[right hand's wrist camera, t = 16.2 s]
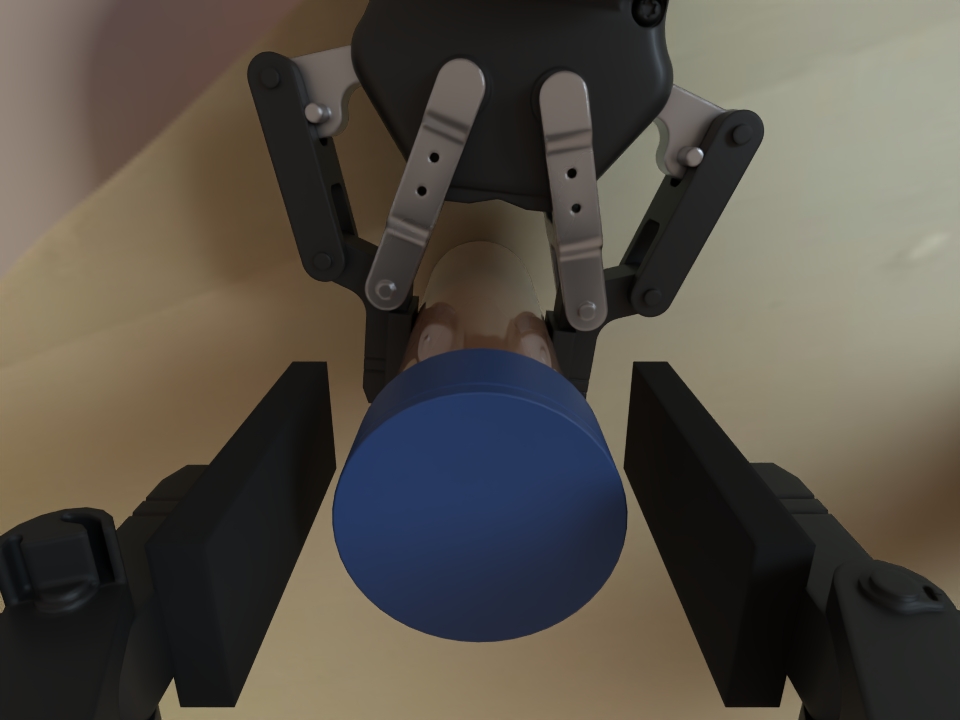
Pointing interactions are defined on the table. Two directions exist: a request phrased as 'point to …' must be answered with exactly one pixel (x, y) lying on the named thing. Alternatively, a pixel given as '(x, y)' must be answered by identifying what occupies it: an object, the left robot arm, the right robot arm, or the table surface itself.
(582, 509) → the lid
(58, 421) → the table surface
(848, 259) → the table surface
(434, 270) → the bottle
